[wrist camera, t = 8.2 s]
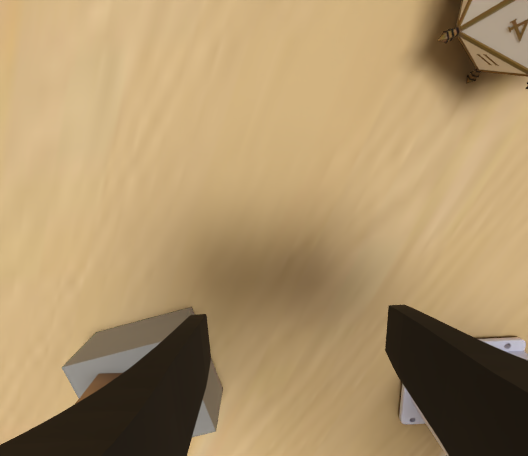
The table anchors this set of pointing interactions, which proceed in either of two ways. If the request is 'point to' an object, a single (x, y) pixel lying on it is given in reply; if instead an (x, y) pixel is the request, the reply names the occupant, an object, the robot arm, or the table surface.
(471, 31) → the game die
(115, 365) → the grey square block
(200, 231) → the table surface
